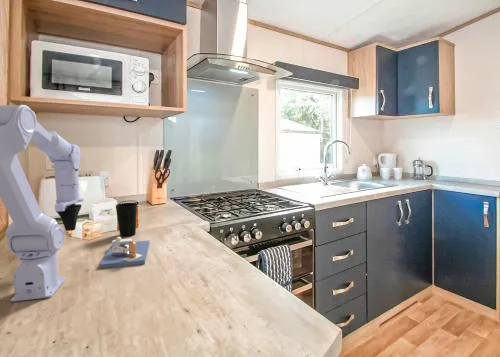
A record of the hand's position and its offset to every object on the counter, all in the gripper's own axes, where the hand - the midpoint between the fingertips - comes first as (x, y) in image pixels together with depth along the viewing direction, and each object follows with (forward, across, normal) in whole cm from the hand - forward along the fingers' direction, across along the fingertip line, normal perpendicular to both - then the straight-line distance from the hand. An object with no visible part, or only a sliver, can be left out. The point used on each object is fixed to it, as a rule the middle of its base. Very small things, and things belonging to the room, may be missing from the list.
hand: (70, 229), depth 84 cm
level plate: (+10, +2, -15) cm, 18 cm away
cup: (+10, +24, -12) cm, 29 cm away
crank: (+8, -1, -15) cm, 17 cm away
